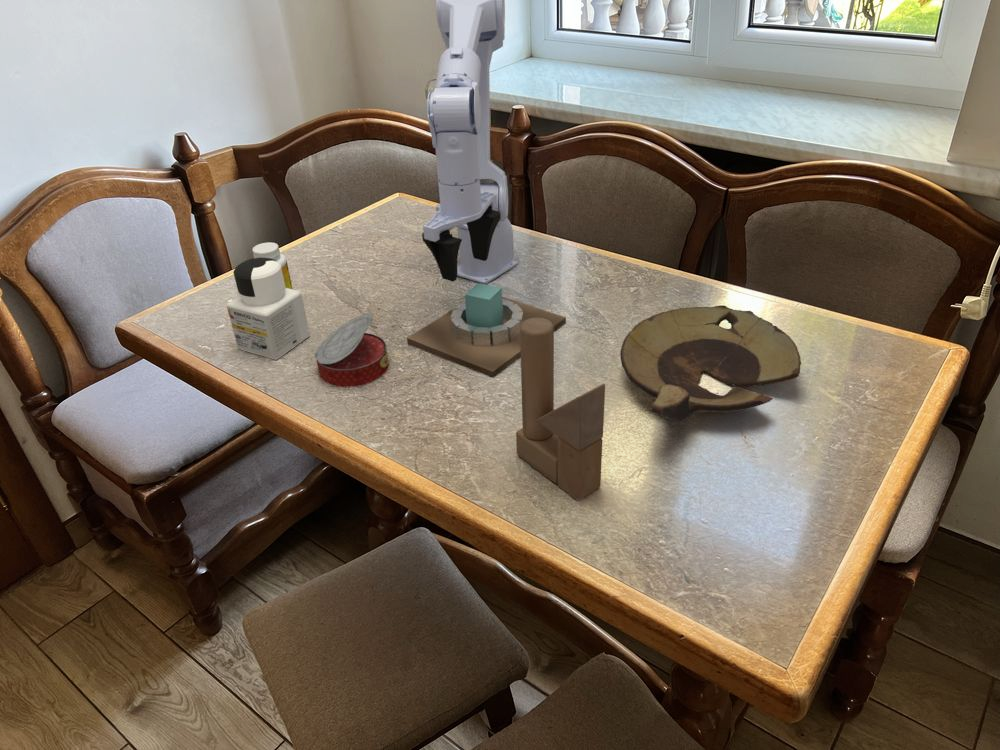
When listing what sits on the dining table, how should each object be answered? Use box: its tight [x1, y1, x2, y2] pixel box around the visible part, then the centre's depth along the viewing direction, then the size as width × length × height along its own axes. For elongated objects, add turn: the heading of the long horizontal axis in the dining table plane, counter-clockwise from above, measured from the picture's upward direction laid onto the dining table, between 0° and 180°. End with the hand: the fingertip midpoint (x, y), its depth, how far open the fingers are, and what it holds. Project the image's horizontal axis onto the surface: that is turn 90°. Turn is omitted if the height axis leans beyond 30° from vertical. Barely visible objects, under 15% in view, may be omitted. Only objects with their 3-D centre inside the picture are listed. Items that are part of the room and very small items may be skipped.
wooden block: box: [515, 318, 606, 501], centre depth 84 cm, size 4×11×18 cm, turn 39°
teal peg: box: [464, 282, 503, 328], centre depth 113 cm, size 4×4×6 cm
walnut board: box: [406, 296, 567, 379], centre depth 115 cm, size 18×16×1 cm
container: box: [226, 257, 311, 361], centre depth 112 cm, size 8×8×13 cm
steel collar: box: [450, 299, 523, 346], centre depth 114 cm, size 10×10×2 cm
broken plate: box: [620, 304, 802, 422], centre depth 100 cm, size 22×30×8 cm
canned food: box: [314, 311, 390, 388], centre depth 107 cm, size 11×10×10 cm
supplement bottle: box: [252, 242, 294, 290], centre depth 123 cm, size 6×6×10 cm
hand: (465, 268), depth 113 cm, fingers open, 7 cm apart
